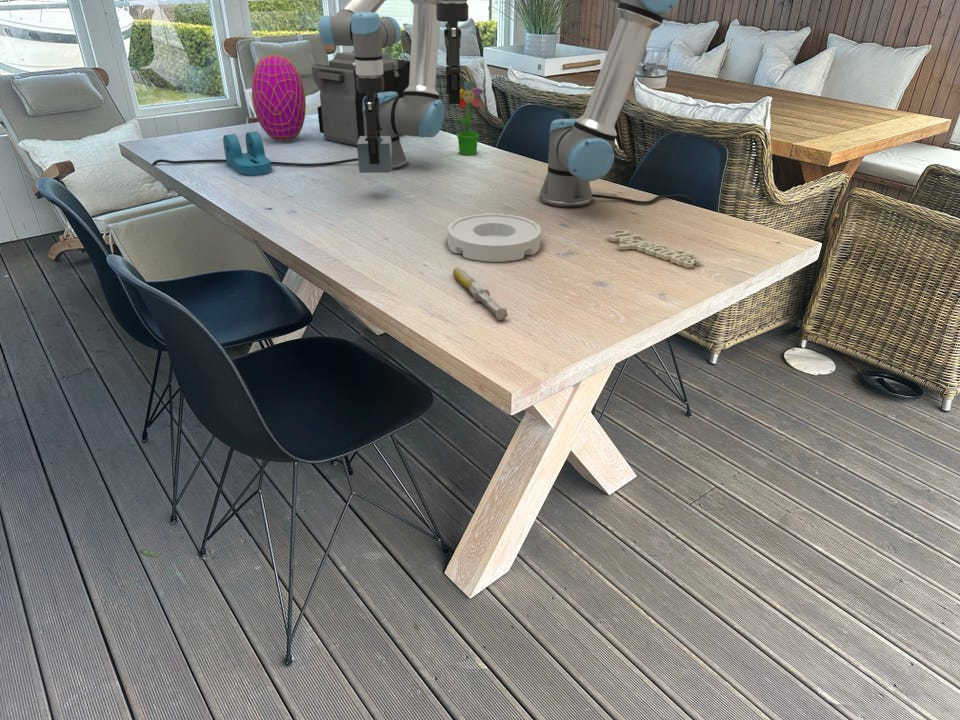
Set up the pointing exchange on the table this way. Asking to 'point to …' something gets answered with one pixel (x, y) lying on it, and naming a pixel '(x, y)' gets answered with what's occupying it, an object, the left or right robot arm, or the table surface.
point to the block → (384, 155)
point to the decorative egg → (278, 97)
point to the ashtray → (494, 237)
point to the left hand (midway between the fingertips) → (375, 159)
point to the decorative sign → (653, 249)
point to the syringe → (479, 293)
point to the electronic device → (351, 94)
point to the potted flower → (468, 138)
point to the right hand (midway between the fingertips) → (453, 98)
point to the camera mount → (246, 154)
